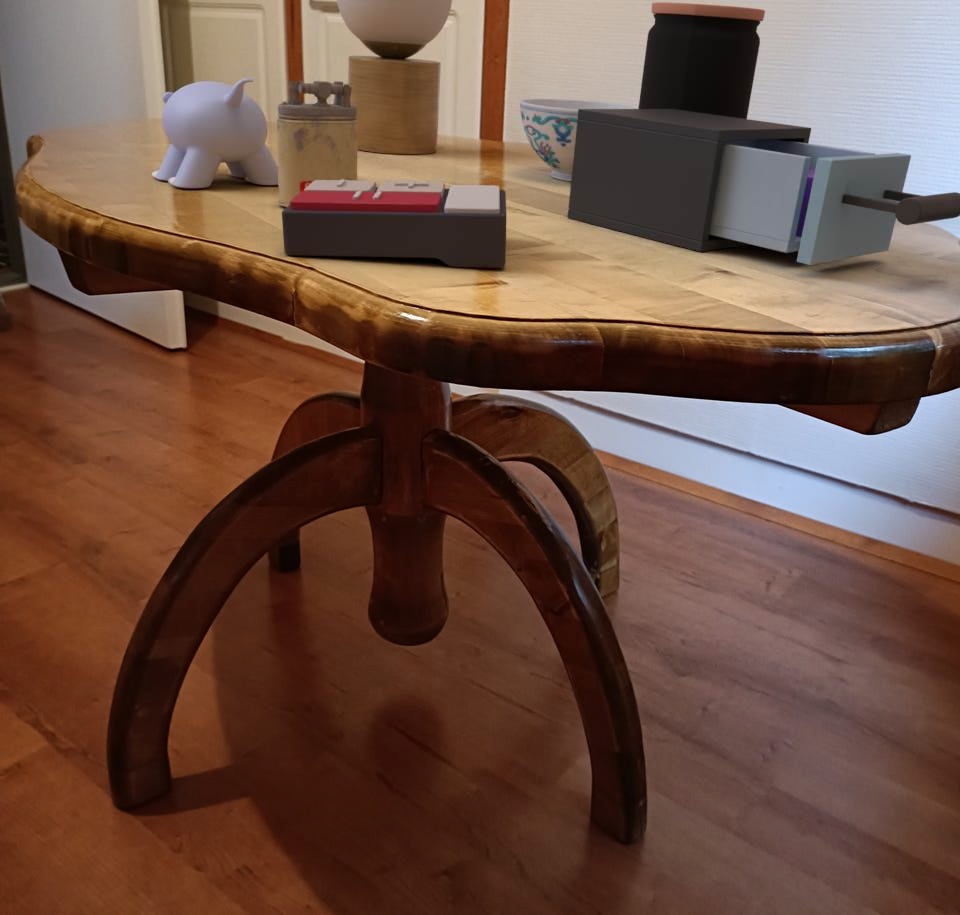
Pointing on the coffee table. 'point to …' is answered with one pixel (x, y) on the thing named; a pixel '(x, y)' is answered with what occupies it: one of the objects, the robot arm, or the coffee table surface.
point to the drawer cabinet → (658, 170)
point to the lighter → (315, 138)
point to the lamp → (395, 73)
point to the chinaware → (557, 129)
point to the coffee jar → (701, 58)
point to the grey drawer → (817, 199)
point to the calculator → (399, 221)
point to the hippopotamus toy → (214, 136)
